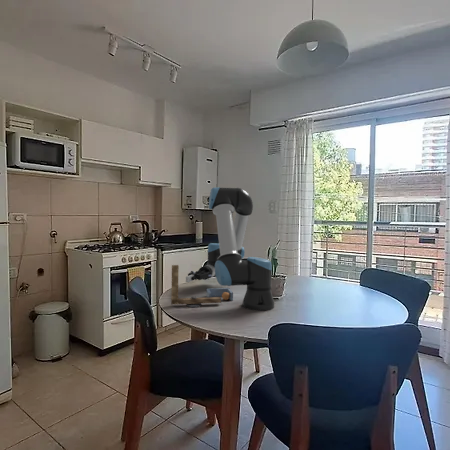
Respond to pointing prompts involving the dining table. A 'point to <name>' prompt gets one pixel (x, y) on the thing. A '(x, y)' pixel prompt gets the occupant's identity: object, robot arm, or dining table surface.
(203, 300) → the lever
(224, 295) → the ball
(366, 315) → the dining table surface
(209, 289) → the blue-gray u-shaped bracket
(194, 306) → the pivot base
